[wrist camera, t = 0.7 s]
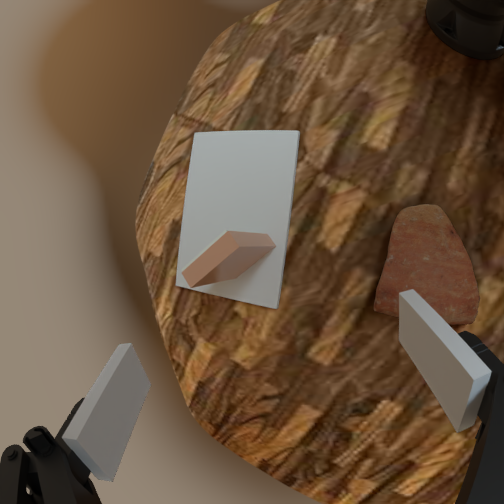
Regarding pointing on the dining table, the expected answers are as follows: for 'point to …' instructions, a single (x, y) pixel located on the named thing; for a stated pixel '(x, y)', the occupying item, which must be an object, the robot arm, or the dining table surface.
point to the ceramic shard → (428, 266)
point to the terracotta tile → (227, 257)
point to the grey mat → (240, 205)
